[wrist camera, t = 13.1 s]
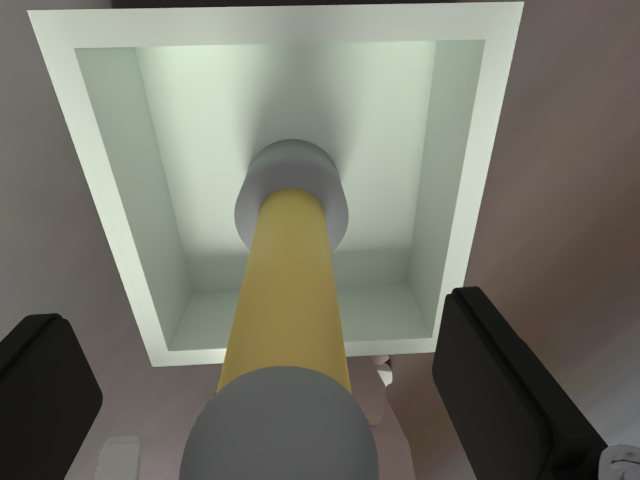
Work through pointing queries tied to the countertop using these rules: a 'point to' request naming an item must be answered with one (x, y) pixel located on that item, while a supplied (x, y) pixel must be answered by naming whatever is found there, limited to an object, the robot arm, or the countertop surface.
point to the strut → (285, 337)
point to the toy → (366, 387)
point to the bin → (274, 125)
